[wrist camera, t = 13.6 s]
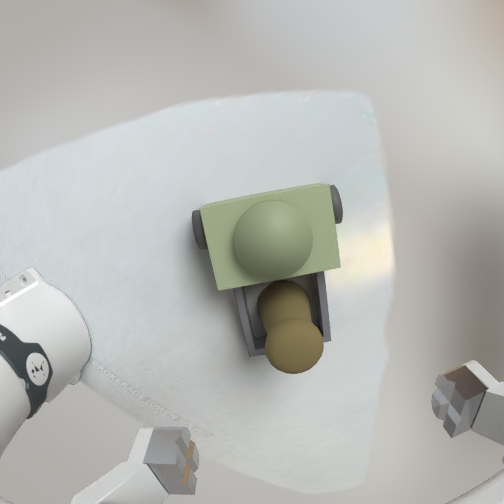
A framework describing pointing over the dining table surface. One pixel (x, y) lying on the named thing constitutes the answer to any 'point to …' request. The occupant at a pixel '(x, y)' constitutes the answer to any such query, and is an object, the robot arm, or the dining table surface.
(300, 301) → the brown knobbed peg
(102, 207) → the dining table surface
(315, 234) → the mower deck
